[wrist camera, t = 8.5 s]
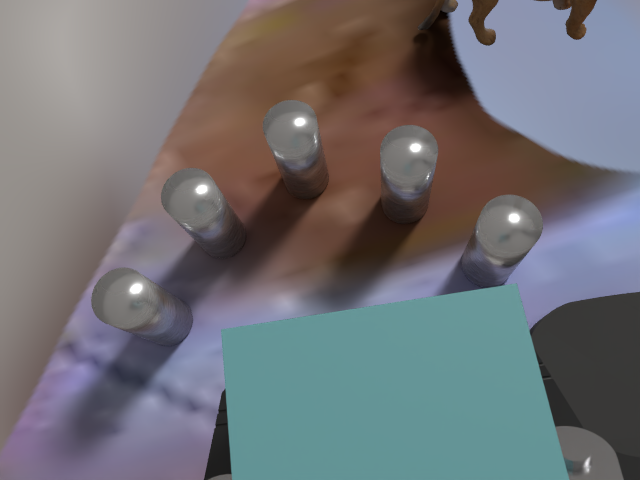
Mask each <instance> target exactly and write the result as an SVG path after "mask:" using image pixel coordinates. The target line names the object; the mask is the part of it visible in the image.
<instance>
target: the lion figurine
mask: <svg viewBox="0 0 640 480" xmlns="http://www.w3.org/2000/svg"><path fill="white" fill-rule="evenodd" d="M472 1H473V11H472V13H471V15H470V17H469V23H470V25H471V26H472V28H473V30H474V32H475V34H476V37H477V39H478V41H479V42H480V43H482V44H484V45H492V44H493V43H494V42H495V39H496V34H495V31H494V30H492V29H486V28H485V27H484V20H485V18H486V16H487V15H488V14H489V13H490V11H491V10H492V9H493V8H494V7H495V6H496V4H497V2H498V0H472ZM536 1H550V0H536ZM596 1H597V0H553V4H554V7H555V8H556V9H558V10H564V9H568V8H570V7H572V9H571V13H570V16H569V18H568V20H567V21H566V29H567V34H568V35H569V36H570V37H571V38H573V39H576V40H577V39H581V38H582V37H584V35H585V33H586V28H585V25H584V24H582V23H583V21H584V20H585V19H586V17H587V16H588V15H589V14H590V12H591V11H592V9H593V8H594V6H595V3H596ZM457 6H458V3H457V1H456V0H437V1H436V4H435V6H434V8H433V10H432V11H431V13H430V15H429V16H428V17H427V18H426V19H425V20H424V22H423V23H421V24H420V25H419V26H418V30H423V29H428V28H429V27H430V26H431V25H432V24H433V22H434V21H435V19H436V18H437V17H438V15H439V12H440V10H442V11H443V12H453V11H455V9H456V8H457Z"/></svg>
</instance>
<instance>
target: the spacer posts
mask: <svg viewBox="0 0 640 480" xmlns="http://www.w3.org/2000/svg"><path fill="white" fill-rule="evenodd" d="M263 131H264V134H265V136H266V139H267V141H268V144H269V146H270V149H271V151H272V154H273V156H274V159H275V161H276V164H277V166H278V169H279V171H280V174H281V176H282V179H283V181H284V184H285V186H286V188H287V190H288V192H289V193H290V194H291V195H293V196H295V197H297V198H300V199H311V198H314V197H316V196H318V195H320V194H321V193H322V192H323V191H324V190H325V189H326V187H327V185H328V181H329V174H328V169H327V165H326V160H325V155H324V151H323V146H322V142H321V137H320V133H319V128H318V123H317V119H316V115H315V113H314V111H313V110H312V108H311V107H310V106H308V105H307V104H305V103H303V102H301V101H297V100H288V101H283V102H280V103H278V104H276V105H275V106H273V107H272V108H271V109H270V110H269V111H268V112H267V114H266V116H265V118H264V121H263ZM380 155H381V205H382V209H383V211H384V213H385V215H386V216H387V217H388V218H389V219H391V220H392V221H394V222H397V223H400V224H409V223H413V222H416V221H418V220H419V219H420V218H422V217H423V215H424V214H425V213H426V211H427V208H428V203H429V198H430V193H431V187H432V182H433V177H434V171H435V166H436V161H437V155H438V146H437V142H436V140H435V138H434V137H433V135H432V134H431V133H430V132H428V131H427V130H426V129H424V128H422V127H419V126H415V125H404V126H400V127H397V128H395V129H393V130H392V131H390V132H389V133H388V134H387V135H386V136H385V138H384V139H383V141H382V144H381V149H380ZM161 201H162V205H163V207H164V209H165V210H166V211H167V212H168V213H169V214H170V216H171V217H172V218H173V219H174V220H175V221H176V222H177V223H178V224H179V225H180V226H181V227H182V228H183V229H184V230H185V231H186V232H187V233H188V234H189V235H190V236H191V237H192V238H193V239H194V240H195V241H196V242H197V243H198V244H199V245H200V246H201V247H202V248H203V249H204V250H205V251H206V252H207V253H208V254H209V255H211V256H213V257H215V258H228V257H231V256H233V255H235V254H236V253H238V252H239V251H240V250H241V248H242V247H243V245H244V243H245V240H246V230H245V227H244V225H243V223H242V222H241V220H240V219H239V218H238V216H237V215H236V213H235V212H234V210H233V209H232V207H231V206H230V204H229V203H228V201H227V200H226V198H225V197H224V195H223V194H222V192H221V191H220V189H219V188H218V187H217V185H216V184H215V182H214V181H213V179H212V178H211V176H210V175H209V174H208V173H206V172H205V171H203V170H201V169H197V168H187V169H183V170H180V171H178V172H176V173H174V174H173V175H172V176H171V177H170V178H169V179H168V180H167V181H166V183H165V184H164V186H163V189H162V193H161ZM542 229H543V221H542V217H541V215H540V212H539V211H538V209H537V208H536V207H535V206H534V205H533V204H532V203H531V202H530V201H528V200H527V199H525V198H523V197H520V196H516V195H502V196H499V197H496V198H494V199H492V200H491V201H489V202H488V203H487V204H486V205H485V207H484V208H483V210H482V212H481V214H480V217H479V219H478V221H477V224H476V226H475V228H474V230H473V233H472V235H471V237H470V240H469V242H468V244H467V247H466V249H465V251H464V254H463V256H462V262H461V263H462V269H463V272H464V274H465V276H466V277H467V278H468V279H469V280H470V281H471V282H472V283H474V284H476V285H478V286H481V287H486V288H491V287H496V286H499V285H501V284H502V283H504V282H505V281H506V280H507V279H508V277H509V276H510V275H511V274H512V272H513V271H514V270H515V269H516V267H517V266H518V265H519V264H520V262H521V261H522V260H523V258H524V257H525V256H526V255H527V253H528V252H529V251H530V250H531V248H532V247H533V246H534V244H535V243H536V242H537V241H538V239H539V238H540V236H541V233H542ZM91 303H92V308H93V311H94V313H95V315H96V316H97V317H98V318H99V319H100V320H101V321H102V322H104V323H106V324H109V325H111V326H114V327H116V328H119V329H121V330H124V331H126V332H129V333H132V334H134V335H137V336H139V337H142V338H144V339H147V340H149V341H152V342H154V343H157V344H159V345H163V346H172V345H175V344H177V343H179V342H181V341H182V340H183V339H185V338H186V336H187V335H188V334H189V332H190V330H191V327H192V323H193V316H192V312H191V310H190V308H189V306H188V305H187V304H186V303H184V302H183V301H181V300H180V299H178V298H177V297H175V296H174V295H172V294H171V293H169V292H168V291H166V290H165V289H163V288H162V287H160V286H159V285H157V284H156V283H154V282H152V281H151V280H149V279H148V278H146V277H145V276H143V275H142V274H140V273H139V272H137V271H136V270H133V269H130V268H117V269H114V270H111V271H110V272H108V273H106V274H105V275H104V276H103V277H101V279H100V280H99V281H98V282H97V284H96V285H95V287H94V290H93V293H92V299H91Z"/></svg>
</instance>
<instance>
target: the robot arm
mask: <svg viewBox="0 0 640 480" xmlns="http://www.w3.org/2000/svg"><path fill="white" fill-rule="evenodd" d="M534 350H535V349H534ZM535 354H536V357H537V361H538V365H539V369H540V372H541V376H542V380H543V383H544V387H545V391H546V395H547V398H548V402H549V406H550V410H551V413H552V417H553V421H554V425H555V428H556V432H557V436H558V439H559V443H560V447H561V451H562V454H563V458H564V462H565V466H566V469H567V473H568V477H569V480H640V457H634V456H629V455H625V454H621V453H619V452H616V451H614V450H613V448H612V447H611V446H610V445H609V444H608V443H607V442H606V441H605V440H604V439H603V438H601V437H600V436H598V435H596V434H595V433H593V432H590V431H588V430H585V429H584V428H583V426H582V425H581V423H580V421H579V420H578V418H577V417H576V415H575V413H574V412H573V410H572V408H571V407H570V405H569V404H568V402H567V400H566V399H565V397H564V396H563V394H562V392H561V391H560V389H559V388H558V386H557V384H556V383H555V381H554V379H552V378H551V375H550V373H549V371H548V370H547V368H546V367H545V365H543V362H542V360H541V359H540V357H539V355H538V354H537V352H536V350H535ZM218 411H219V414H218V415H217V419H216V424H215V425H216V428H215V429H214V434H213V439H212V444H211V449H210V453H209V458H208V463H207V468H206V473H205V478H204V480H232V471H231V458H230V444H229V430H228V416H227V403H226V389H225V390H224V391H223V392H222V395H221V400H220V405H219V410H218Z"/></svg>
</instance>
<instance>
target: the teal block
mask: <svg viewBox="0 0 640 480" xmlns="http://www.w3.org/2000/svg"><path fill="white" fill-rule="evenodd" d="M221 334H222V348H223V361H224V375H225V389H226V403H227V416H228V430H229V444H230V458H231V471H232V480H569V477H568V473H567V469H566V466H565V462H564V458H563V454H562V451H561V447H560V443H559V439H558V436H557V432H556V428H555V425H554V421H553V417H552V413H551V410H550V406H549V402H548V398H547V395H546V391H545V387H544V383H543V380H542V376H541V372H540V369H539V365H538V361H537V357H536V354H535V350H534V346H533V342H532V339H531V335H530V331H529V328H528V324H527V320H526V316H525V313H524V309H523V305H522V301H521V298H520V294H519V290H518V286H517V283H516V284H510V285H503V286H497V287H491V288H484V289H478V290H471V291H465V292H459V293H452V294H446V295H439V296H433V297H427V298H420V299H414V300H407V301H401V302H395V303H388V304H382V305H375V306H369V307H363V308H356V309H350V310H343V311H337V312H331V313H324V314H318V315H311V316H305V317H299V318H292V319H286V320H279V321H273V322H267V323H260V324H254V325H247V326H241V327H235V328H228V329H222V330H221Z"/></svg>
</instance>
